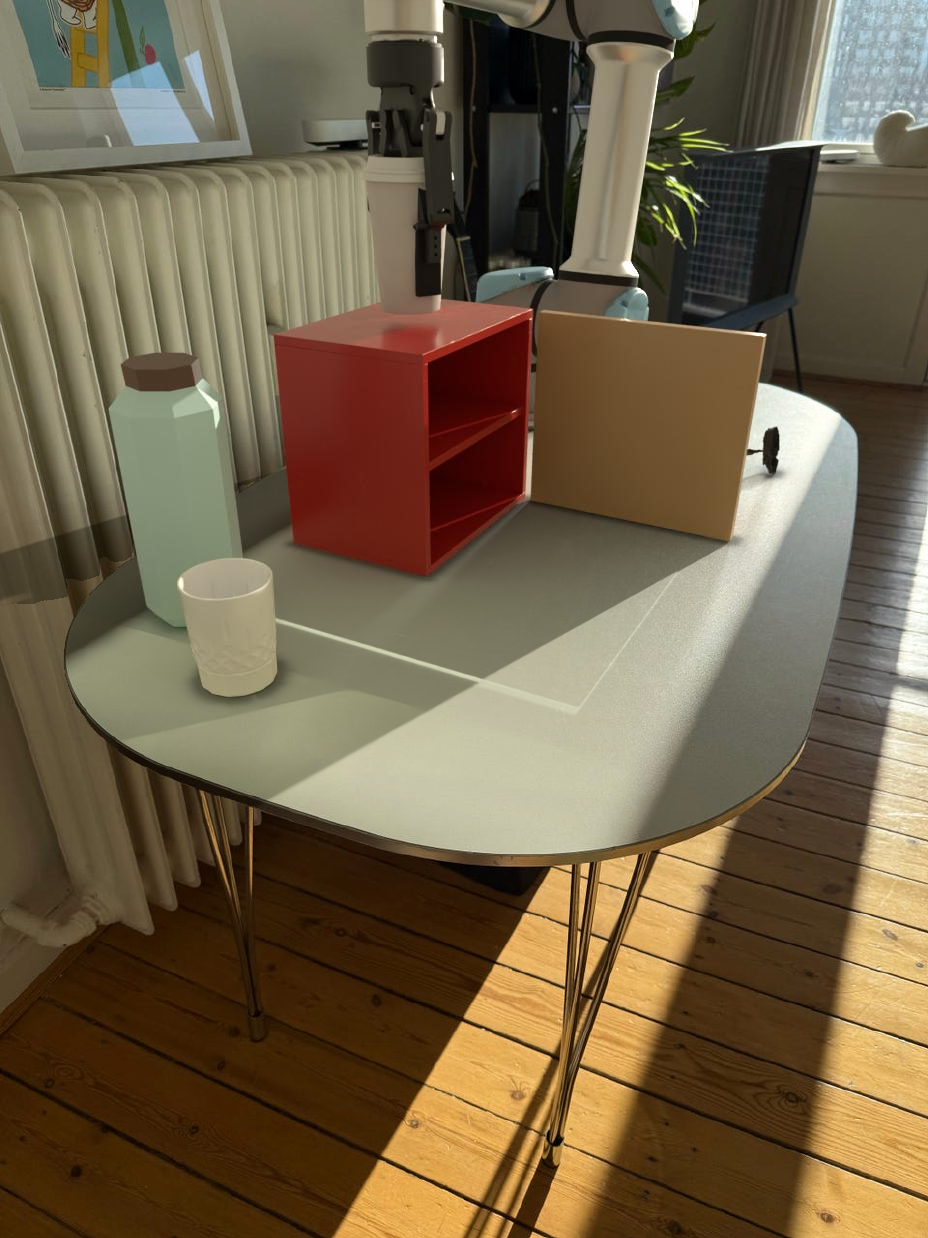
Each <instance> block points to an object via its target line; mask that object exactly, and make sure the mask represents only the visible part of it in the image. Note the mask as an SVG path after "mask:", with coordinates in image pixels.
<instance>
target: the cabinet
mask: <svg viewBox="0 0 928 1238" xmlns="http://www.w3.org/2000/svg"><path fill="white" fill-rule="evenodd" d="M532 317H533V309H531V308H522V307H512V306H503V305H493V304H484V303H475V302H473V301H465V300H455V299H446V298H441V303H440V309H439V310H438V311H436V312H432V313H427V314H414V315H406V314H394V313H388V312H385V311H383V310H382V309H381V302H380V301H379V302H376V303H373V304H369V305H366V306H362V307H360V308H356V309H353V310H349V311H346V312H343V313H340V314H336V315H333V316H330V317H326V318H323V319H320V320H317V321H313V322H310V323H307V324H303V325H301V326H297V327H294V328H290V329H286V330H284V331H281V332H277V333H274V334H273V335H272V336H273V346H274V356H275V357H274V358H275V366H276V377H277V387H278V396H279V408H280V417H281V418H280V419H281V428H282V437H283V448H284V459H285V460H284V461H285V468H286V480H287V489H288V500H289V510H290V511H289V512H290V519H291V520H290V521H291V531H292V539H293V544H294V545H297V546H301V547H306V548H310V549H314V550H318V551H321V552H325V553H330V554H334V555H336V556H337V555H338V556H342V557H346V558H350V559H353V560H357V561H362V562H366V563H370V564H374V565H378V566H381V567H384V568H385V567H386V568H390V569H393V570H398V571H402V572H405V573H406V572H407V573H409V574H414V575H417V576H422V577H424V578H425V577H428V576H430V575H431V574H432V573H433V572H435V571H436V570H437V569H439V567H441V566H442V565H443V564H445V563H446V562H447V561H448V560H450V559H451V558H452V557H454V556H455V555H456V554H457V553H458V552H460V551H461V550H462V549H463V548H465V547H466V546H467V545H469V544H470V543H471V542H472V541H473V540H475V539H476V538H477V537H479V536H480V535H481V534H482V533H483V532H484V531H486V530H487V529H488V528H490V527H491V526H493V524H495V523H496V522H498V521H499V520H500V519H501V518H502V517H503V516H505V515H506V514H508V513H509V512H510V511H511V510H512V509H513V508H515V507H516V506H517V505H518V504H520V503H521V502H523V500H524V499H526V491H527V489H526V488H527V469H528V467H527V466H528V446H529V445H528V442H529V430H528V421H529V397H530V373H531V349H532V325H533V318H532Z"/></svg>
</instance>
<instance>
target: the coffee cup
mask: <svg viewBox="0 0 928 1238" xmlns="http://www.w3.org/2000/svg"><path fill="white" fill-rule="evenodd" d="M360 179H361V180H363V181H365V185H366V193H367V199H368V202H369V210H370V212H369V217H370V225H371V234H372V241H373V242H372V243H373V250H374V257H375V258H374V260H375V267H376V277H377V284H378V290H379V291H378V292H379V300H380V301H379V302H381V309H382V310H383V311H385V312H388V313H394V314H406V315H414V314H427V313H432V312H436V311H438V310H439V309H440V303H441V299H442V294H441V295H435V296H425V297H417V296H416V289H415V232H416V230H414V228H413V225H414V224H416V223H417V222H418V217H417V214H418V187H419V188H420V189H423V190H426V186H425V172H424V158H394V157H384V155H382V154H380V155H370V156H368V155H367V162H366V166H364V167H363V171H362V172H361V178H360ZM454 180H455V177H454V173H453V171H452V181H454ZM443 211H444V209H443ZM446 232H447V224H446V225H445V227H444V228H442V230H441V290H442V288H443V275H444V274H443V273H444V260H445V245H446Z"/></svg>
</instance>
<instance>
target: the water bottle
mask: <svg viewBox="0 0 928 1238" xmlns="http://www.w3.org/2000/svg"><path fill="white" fill-rule="evenodd" d="M120 368H121V373H122V376H123V377H122V378H123V382H124V385H125V386H124V387H123V389H122V390H121V391H120V392H119V393H118V395H117V396H116V398H115V399H114V400H113V402H112V403H111V404H110V406H109V407H108V414H109V419H110V424H111V429H112V430H111V431H112V434H113V440H114V446H115V451H116V455H117V456H116V457H117V460H118V465H119V466H118V467H119V470H120V476H121V480H122V481H121V482H122V487H123V491H124V497H125V502H126V507H127V513H128V518H129V523H130V528H131V534H132V539H133V543H134V550H135V554H136V559H137V565H138V570H139V575H140V580H141V586H142V589H143V596H144V601H145V605H146V607H147V609H149V611H151V612H152V613H154V615H155V616H157V617H158V618H159V619H161V620H163V621H164V622H165V623H167V624H169V625H170V626H171V627H174V628H187V626H186V622H185V618H184V614H183V609H182V605H181V600H180V596H179V592H178V587H177V581H178V579H179V577H180V576H181V575H182V574H183V573H184V572H185V571H186V570H188V569H190V568H191V567H193V566H196V565H198V564H201V563H204V562H207V561H211V560H216V559H223V558H244V555H243V546H242V537H241V531H240V523H239V516H238V507H237V500H236V492H235V483H234V476H233V468H232V461H231V454H230V453H231V452H230V445H229V438H228V436H229V435H228V430H227V429H228V428H227V422H226V421H227V420H226V415H225V406H224V398H223V396H222V395H221V394H220V393H219V392H218V391H217V390H216V389H215V388H213V386H212V385H211V384H209V383H208V382H207V381H206V380H205V379H204V378H203V374H202V369H201V363H200V358H199V357H198V356H196V355H192V354H189V353H186V352H151V353H147V354H146V353H145V354H140V355H136V356H129V357H127V359H125V360H124V361H123V362H121V363H120Z"/></svg>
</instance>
